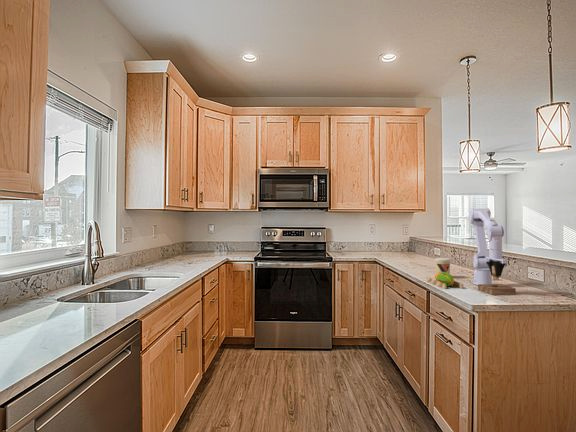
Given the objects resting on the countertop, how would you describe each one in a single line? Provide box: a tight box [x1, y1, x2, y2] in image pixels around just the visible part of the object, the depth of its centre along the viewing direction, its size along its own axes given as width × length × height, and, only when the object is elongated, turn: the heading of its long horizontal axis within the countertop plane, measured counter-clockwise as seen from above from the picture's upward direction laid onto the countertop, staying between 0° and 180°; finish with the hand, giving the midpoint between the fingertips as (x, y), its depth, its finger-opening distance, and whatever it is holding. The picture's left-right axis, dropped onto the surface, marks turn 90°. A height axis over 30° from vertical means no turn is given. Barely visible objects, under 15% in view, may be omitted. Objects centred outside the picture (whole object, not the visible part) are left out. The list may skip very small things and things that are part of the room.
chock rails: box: [426, 276, 464, 290], centre depth 196 cm, size 23×10×2 cm, turn 1°
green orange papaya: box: [434, 272, 455, 287], centre depth 196 cm, size 7×8×20 cm
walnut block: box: [477, 283, 517, 296], centre depth 175 cm, size 12×12×3 cm
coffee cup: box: [434, 257, 451, 275], centre depth 219 cm, size 9×9×12 cm
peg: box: [492, 266, 500, 281], centre depth 175 cm, size 3×3×7 cm
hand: (496, 275), depth 175 cm, fingers closed on peg, 3 cm apart
